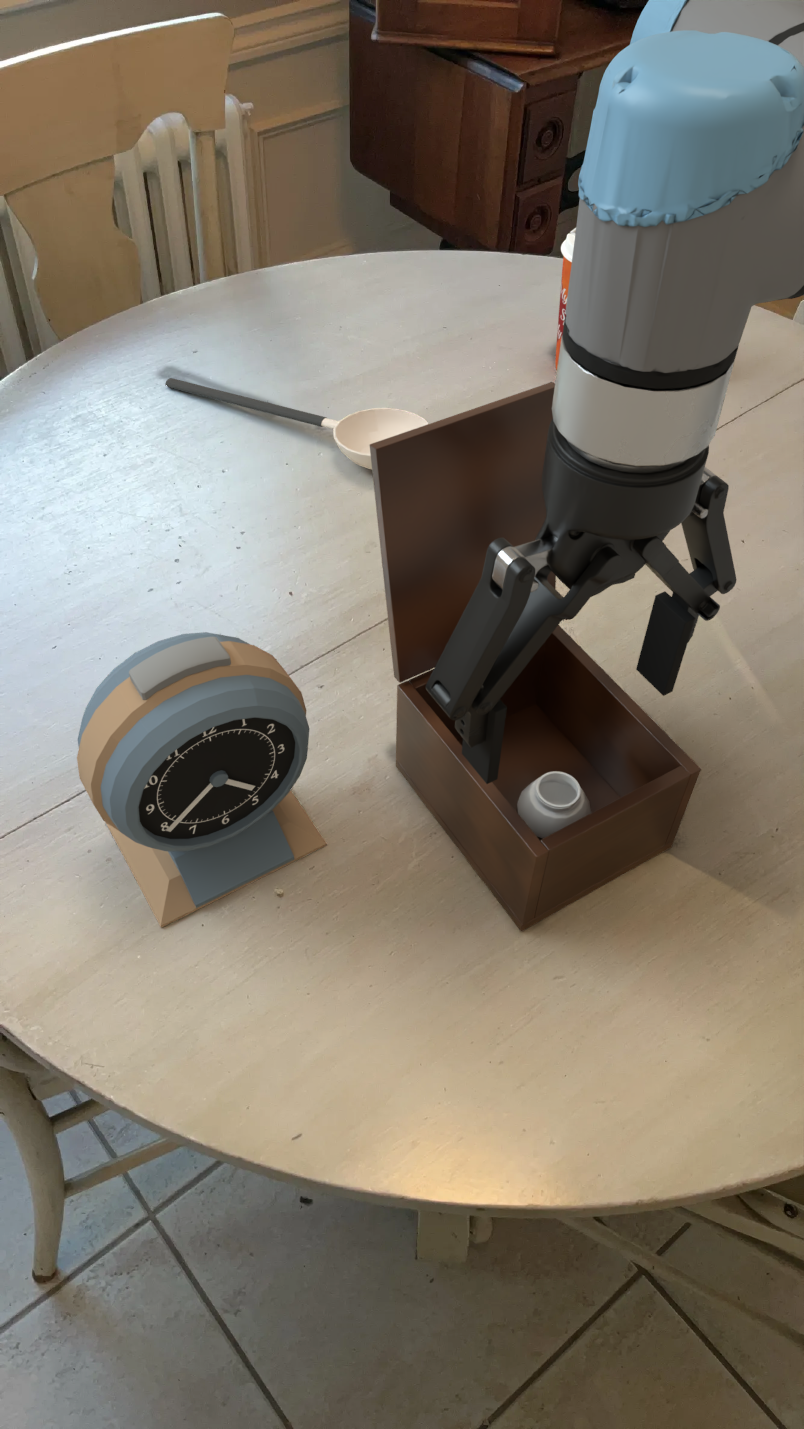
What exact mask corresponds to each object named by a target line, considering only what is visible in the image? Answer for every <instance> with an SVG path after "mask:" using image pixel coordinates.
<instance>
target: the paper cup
mask: <svg viewBox="0 0 804 1429" xmlns="http://www.w3.org/2000/svg"><path fill="white" fill-rule="evenodd" d="M575 233H576V227H574V228H573V229H572V230H570V231H569V233H567V234H566V238H565V239H564V240H563V242H562V243H561V245H560V252H561V255H562V267H561V268H562V269H561V279H560V280H561V282H560V295H559V304H558V305H559V306H558V320H557V333H556V346H555V371H557V366H558V359H559V352H560V345H561V337H562V334H563V327H564V320H565V316H566V313H565V312H566V304H567V296H568V288H569V280H570V272H571V265H572V257H573V249H574V241H575Z"/></svg>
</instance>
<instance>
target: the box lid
mask: <svg viewBox="0 0 804 1429" xmlns="http://www.w3.org/2000/svg"><path fill="white" fill-rule="evenodd" d="M554 388H555V382H553V381H550V382H547V383H544V384H541V385H539V386H536V387H532V388H530V389H527V390H523V391H521V392H518V393H515V394H513V395H509V396H507V397H504V398H501V399H497V400H495V401H492V402H488V403H486V404H482V405H481V406H478V407H477V406H476V407H475V408H471V409H469V410H465V411H462V412H460V413H457V414H454V415H452V416H449V417H446V418H442V419H439V420H437V421H434V422H431V423H429V424H428V425H425V426H422V427H419V428H416V429H413V430H410V431H407V432H404V433H401V434H399V435H396V436H393V437H390V438H387V439H384V440H381V441H378V442H375V443H372V444H370V454H371V464H372V469H371V474H372V480H373V481H372V482H373V492H374V500H375V508H376V509H375V512H376V519H377V528H378V538H379V548H380V557H381V565H382V576H383V585H384V595H385V604H386V614H387V622H388V631H389V632H388V633H389V642H390V650H391V652H390V653H391V661H392V662H391V663H392V671H393V678H394V679H395V680H397V681H398V683H399V684H401V683H403V682H405V681H409V680H410V679H412V678H414V677H416V676H419V675H421V674H423V673H425V672H428V671H430V670H432V669H434V668H435V666H436V664H437V662H438V660H439V658H440V656H441V655H442V653H443V651H444V649H445V647H446V645H447V643H448V641H449V639H450V637H451V635H452V633H453V631H454V629H455V628H456V626H457V624H458V622H459V620H460V618H461V616H462V614H463V612H464V610H465V608H466V606H467V604H468V602H469V601H470V599H471V597H472V595H473V593H474V591H475V589H476V587H477V585H478V583H479V581H480V579H481V577H482V572H483V567H484V562H485V557H486V552H487V549H488V547H489V545H490V544H491V543H492V542H493V541H494V540H496V539H498V538H505V539H506V540H507V541H508V542H509V543H510V544H511V545H512V546H513V547H516V546H519V545H522V544H525V543H529V542H532V541H535V539H536V536H537V534H538V532H539V531H540V529H541V527H542V525H543V523H544V521H545V518H546V507H545V501H544V496H543V490H542V473H543V465H544V458H545V450H546V443H547V436H548V429H549V425H550V423H551V421H552V419H553V415H552V403H553V396H554ZM547 580H548V582H549V583H550V584H551V585H552V586H553V587H554V588H555V589H556V588H557V586H556V585H557V584H556V582H557V576H556V575H555V574H554V573H553V572H552V571H551V572H550V573H549V575H548V577H547ZM556 590H557V589H556Z"/></svg>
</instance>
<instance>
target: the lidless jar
mask: <svg viewBox="0 0 804 1429" xmlns="http://www.w3.org/2000/svg"><path fill="white" fill-rule="evenodd" d="M517 809H518V814H519V816H520V817H521V818H522V819H523V820H524V822H525V823H526V824H527V825H528V826H529V828H530V829H531V830H532V831H533V833H534V834H535V835H536V836H537V837H540V838H545V837H547V836H549V835H551V834H553V833H555V832H557V831H559V830H560V829H562V828H564V827H566V826H568V825H570V824H572V823H574V822H576V821H577V820H579V819H581V818H583V817H585V816H587V815H589V814H591V808H590V802H589V800H588V798H587V797H586V795H585V793H584V791H583V790H582V789H581V787H580V785H579V783H578V782H577V780H576V779H575V778H574V777H572V776H571V775H569V774H567V773H564V772H559V771H553V772H548V773H546V774H544V775H542V776H541V777H539V778H538V779H536V780H535V781H533V782H532V783H531V784H529V785H528V786H527V787H526V788H525V789H524V790H523V791H522V792H521V795H520V797H519V800H518V803H517Z"/></svg>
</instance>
